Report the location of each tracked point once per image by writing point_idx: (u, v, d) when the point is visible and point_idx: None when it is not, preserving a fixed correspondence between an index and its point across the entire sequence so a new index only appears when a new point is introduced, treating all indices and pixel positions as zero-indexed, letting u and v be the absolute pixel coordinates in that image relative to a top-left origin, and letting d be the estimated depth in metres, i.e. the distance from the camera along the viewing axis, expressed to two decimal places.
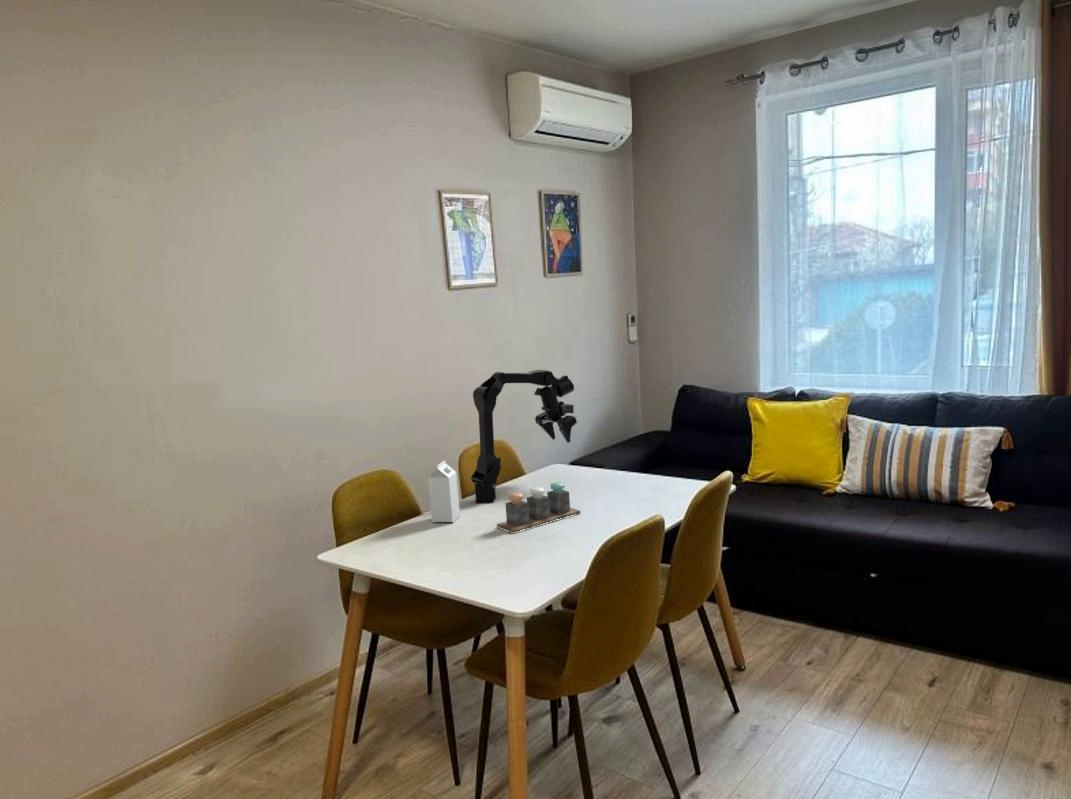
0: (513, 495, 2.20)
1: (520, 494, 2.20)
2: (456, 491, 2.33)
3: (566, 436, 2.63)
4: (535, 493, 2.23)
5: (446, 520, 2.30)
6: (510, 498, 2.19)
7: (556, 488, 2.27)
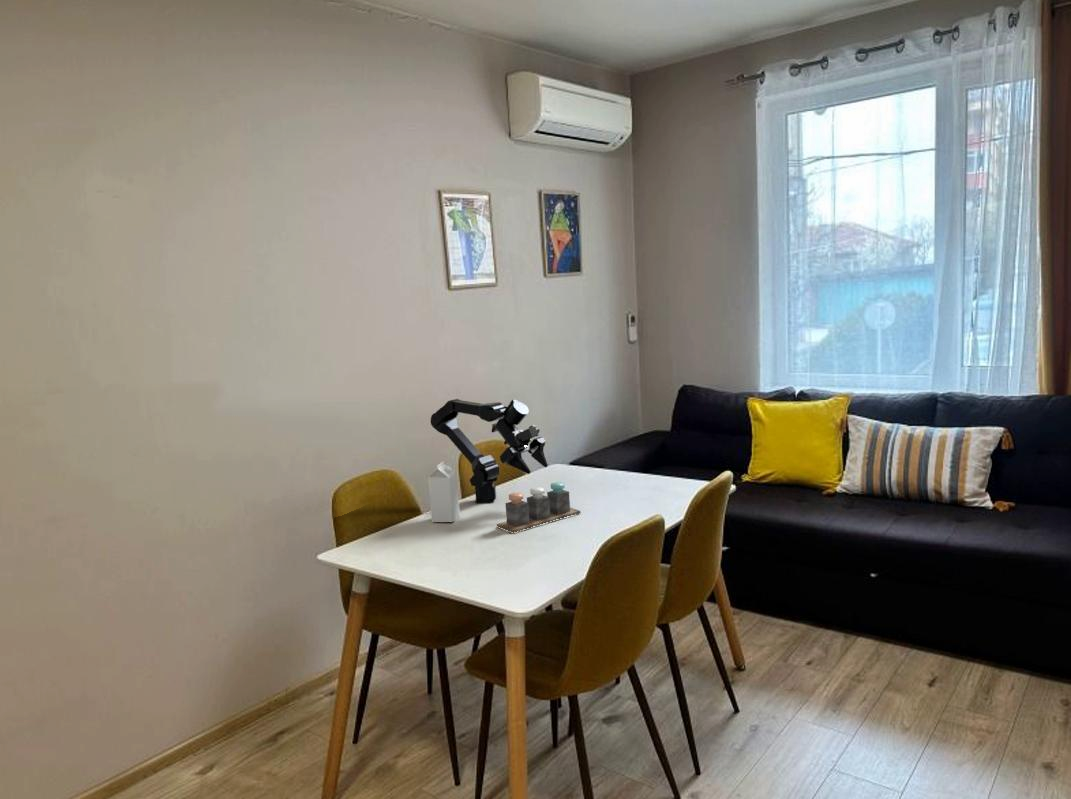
0: (513, 495, 2.20)
1: (520, 494, 2.20)
2: (456, 491, 2.33)
3: (520, 468, 2.33)
4: (535, 493, 2.23)
5: (446, 520, 2.30)
6: (510, 498, 2.19)
7: (556, 488, 2.27)
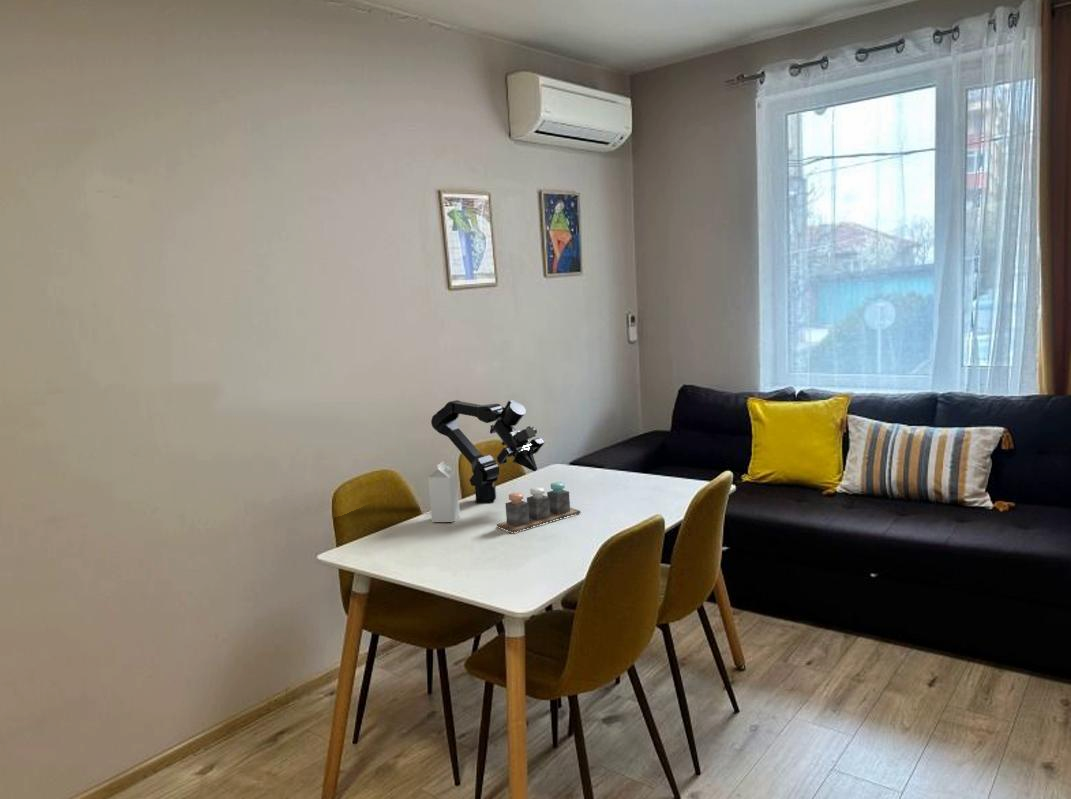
0: (513, 495, 2.20)
1: (520, 494, 2.20)
2: (456, 491, 2.33)
3: (526, 466, 2.35)
4: (535, 493, 2.23)
5: (446, 520, 2.30)
6: (510, 498, 2.19)
7: (556, 488, 2.27)
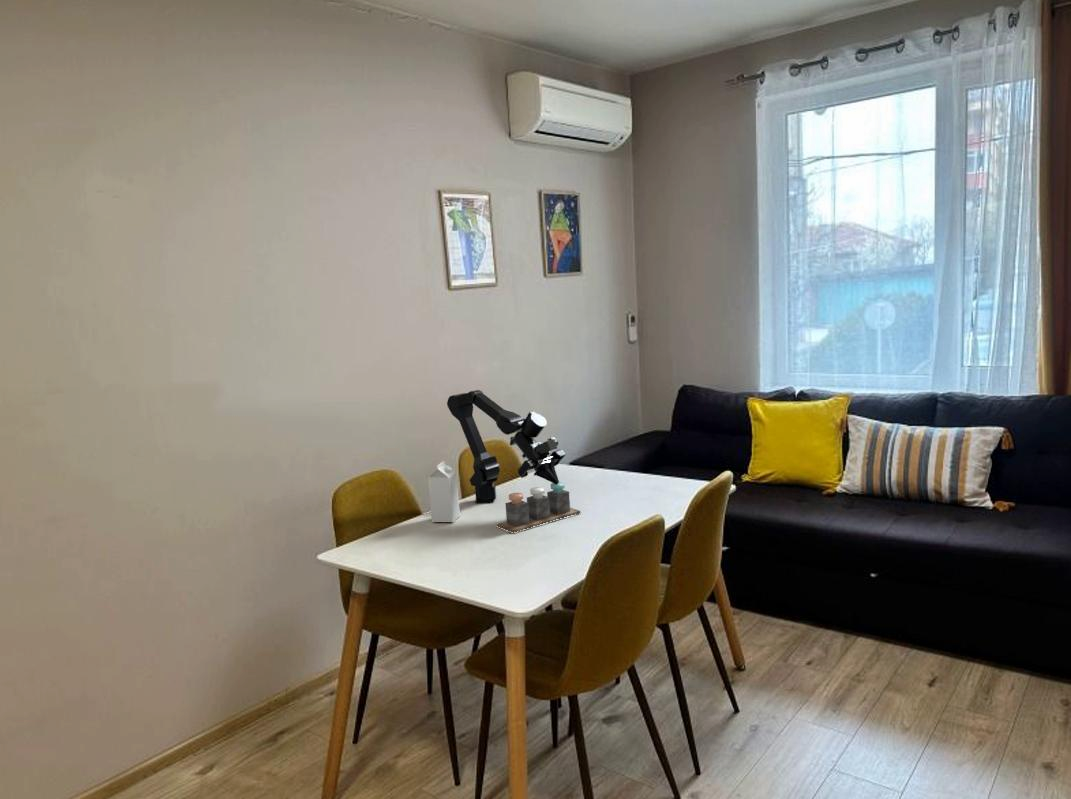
0: (513, 495, 2.20)
1: (520, 494, 2.20)
2: (456, 491, 2.33)
3: (548, 478, 2.30)
4: (535, 493, 2.23)
5: (446, 520, 2.30)
6: (510, 498, 2.19)
7: (556, 488, 2.28)
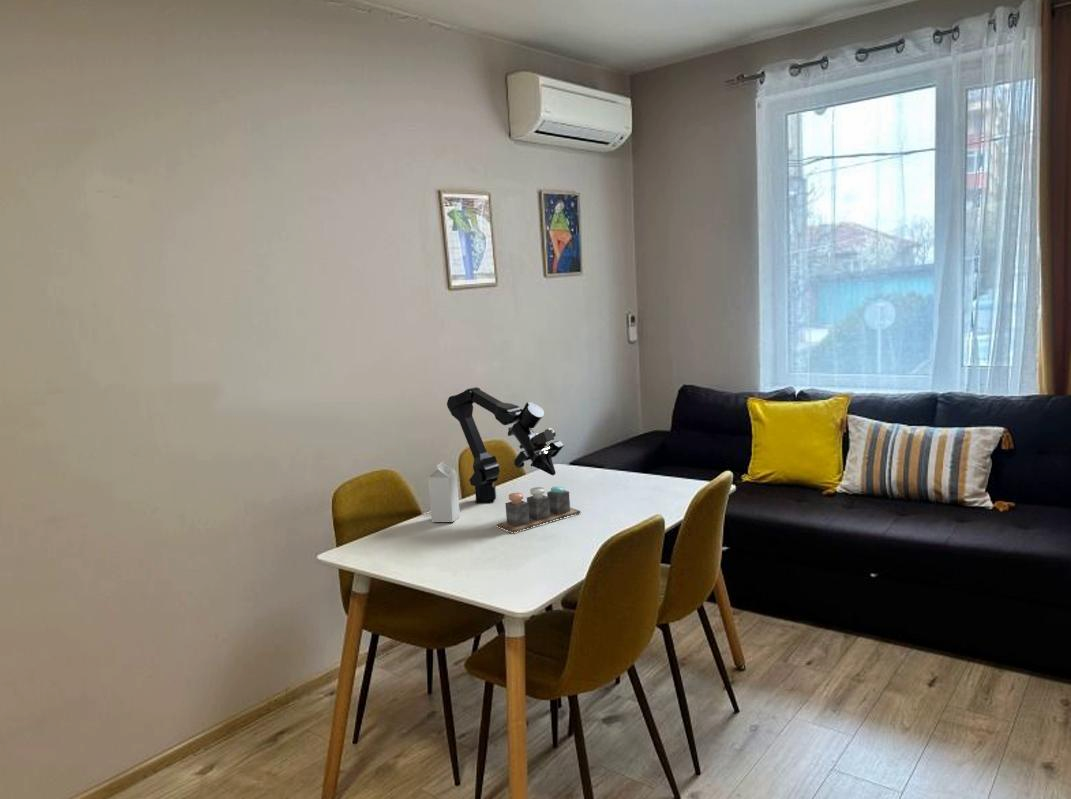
0: (513, 495, 2.20)
1: (520, 494, 2.20)
2: (456, 491, 2.33)
3: (544, 470, 2.29)
4: (535, 493, 2.23)
5: (446, 520, 2.30)
6: (510, 498, 2.19)
7: (557, 492, 2.28)
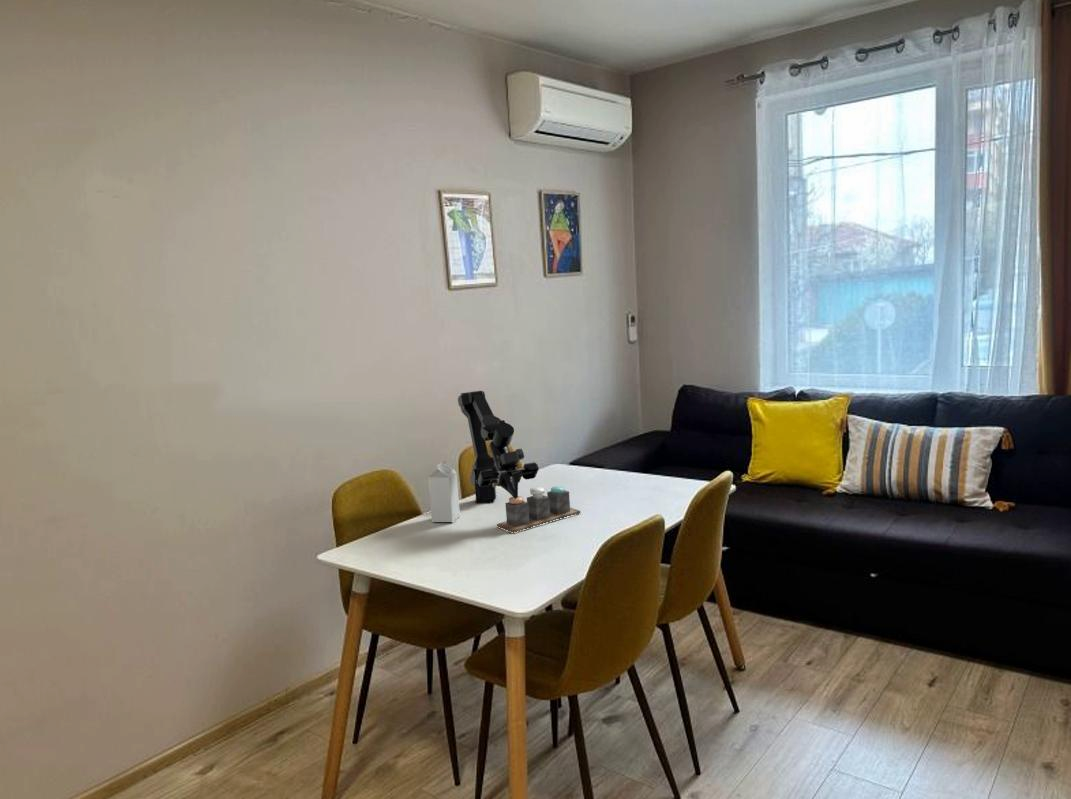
0: (513, 499, 2.20)
1: (520, 498, 2.21)
2: (456, 491, 2.33)
3: (509, 491, 2.22)
4: (535, 493, 2.23)
5: (446, 520, 2.30)
6: (510, 502, 2.19)
7: (557, 492, 2.28)
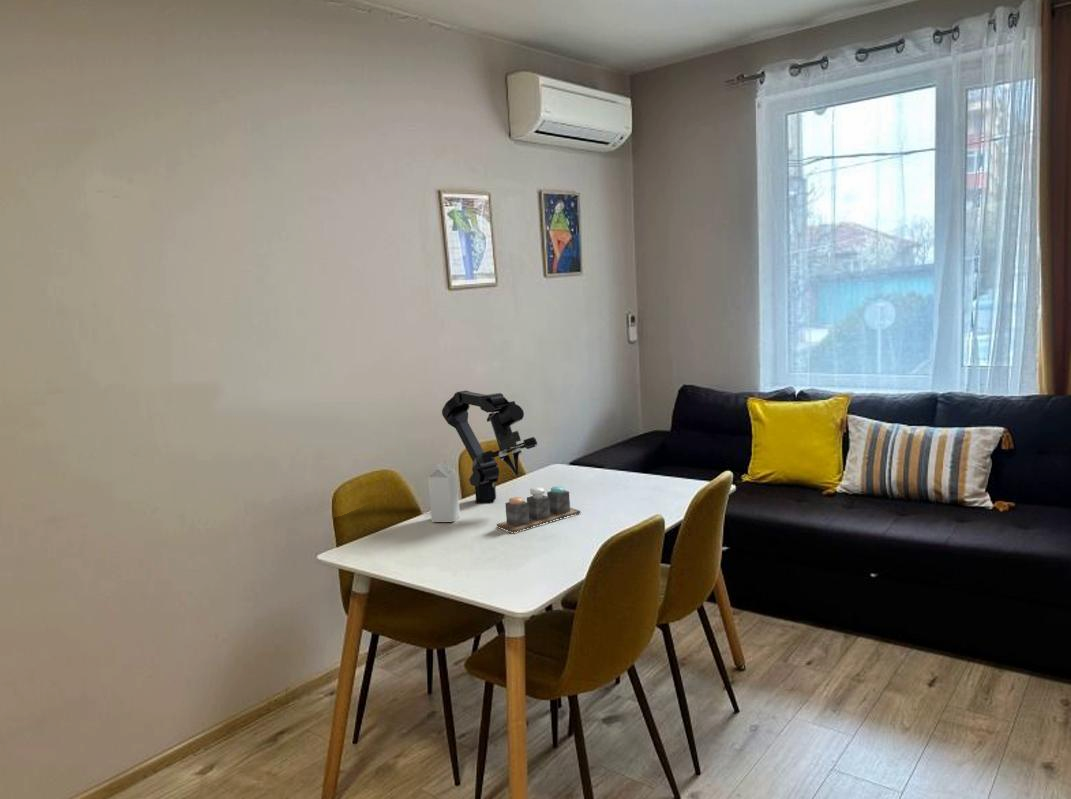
0: (513, 499, 2.20)
1: (520, 498, 2.21)
2: (456, 491, 2.33)
3: (510, 467, 2.37)
4: (535, 493, 2.23)
5: (446, 520, 2.30)
6: (510, 502, 2.19)
7: (557, 492, 2.28)
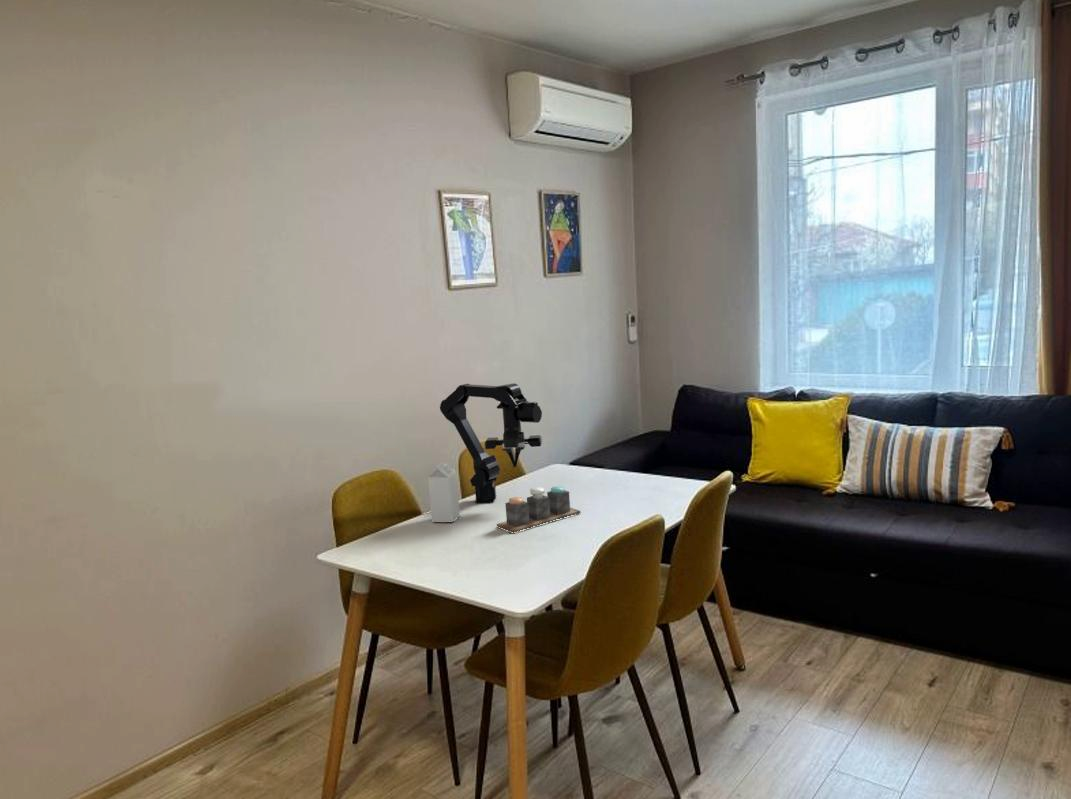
0: (513, 499, 2.20)
1: (520, 498, 2.21)
2: (456, 491, 2.33)
3: None
4: (535, 493, 2.23)
5: (446, 520, 2.30)
6: (510, 502, 2.19)
7: (557, 492, 2.28)
